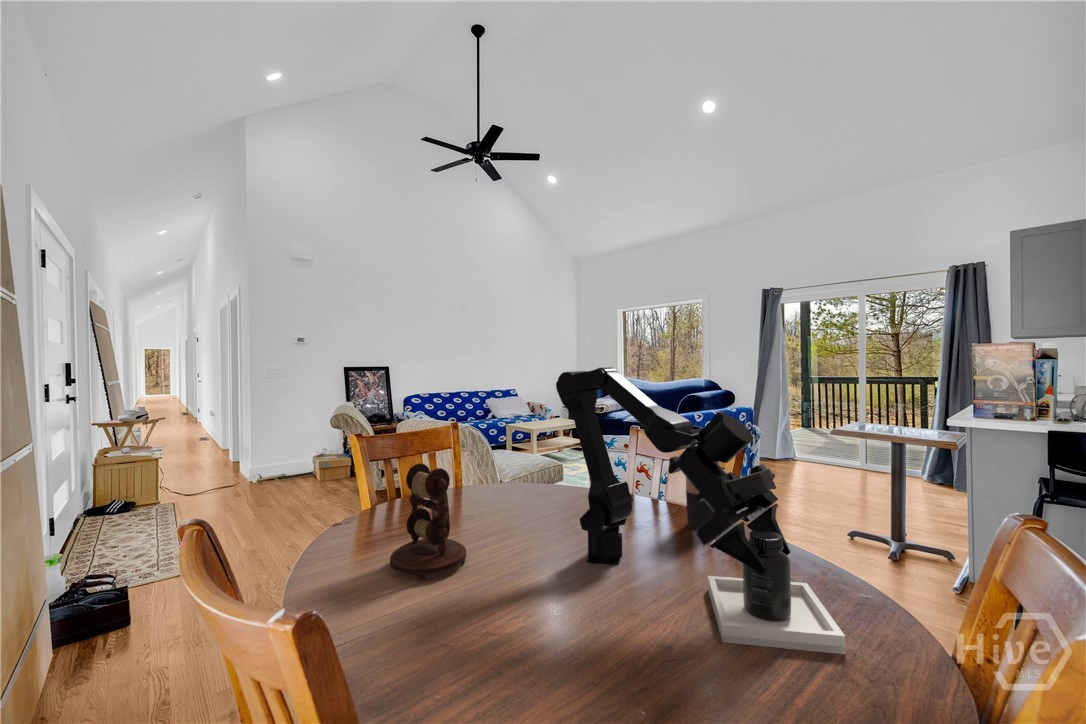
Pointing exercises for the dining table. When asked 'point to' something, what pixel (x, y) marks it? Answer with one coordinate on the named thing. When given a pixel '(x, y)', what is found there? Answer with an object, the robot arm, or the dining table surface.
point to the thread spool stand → (428, 527)
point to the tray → (799, 631)
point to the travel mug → (695, 504)
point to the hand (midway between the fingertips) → (776, 563)
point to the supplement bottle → (768, 579)
